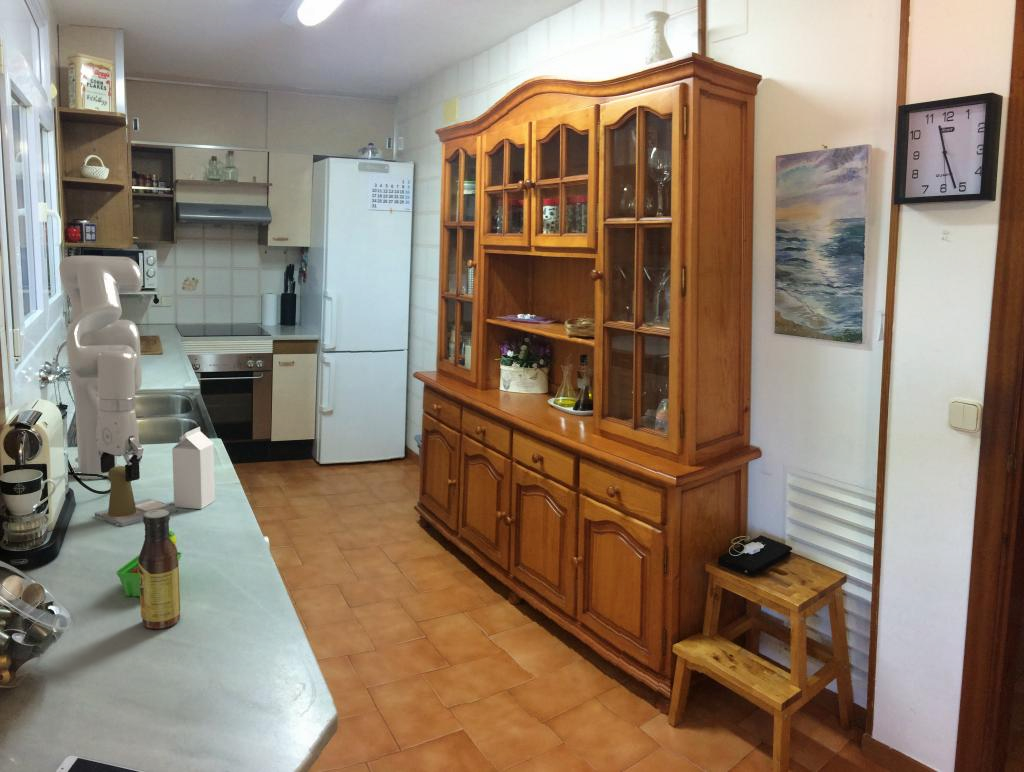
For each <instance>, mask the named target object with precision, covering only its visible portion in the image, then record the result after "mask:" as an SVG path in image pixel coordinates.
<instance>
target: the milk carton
mask: <svg viewBox="0 0 1024 772" xmlns="http://www.w3.org/2000/svg"><path fill="white" fill-rule="evenodd" d="M214 449H215V448H214V442H213V441H212V440H211V439H210V438H208V437H207V436H206V435H205V434H204V433H203V432H202V431H201V427H200V426H198V427H196V428H193V429H191V430H189V431H187V432H185V433H184V434H183V435H181V436H180V437H179V442H178V443H176V445H174V446H173V447H172V449H171V450H172V451H171V453H172V455H171V456H172V477H173V478H172V479H173V480H172V481H173V506H174V507H177V508H181V509H183V508H184V509H197V510H198V509H199V510H203V509H204V508H206V507H207V506H209V505H210V504H212V503H214V502H215V500H216V495H215V494H216V491H215V490H216V488H215V487H216V486H215V456H214V454H215V453H214V452H215V450H214Z"/></svg>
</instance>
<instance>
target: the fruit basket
mask: <svg viewBox="0 0 1024 772" xmlns="http://www.w3.org/2000/svg"><path fill="white" fill-rule="evenodd" d="M169 533H170V536H169V538H170V539H171V540H172V542H173V543H174V544H175V546H176V547H177V537H176V534H175V532H174V531H173V530H172V529H171V530H170V529H169ZM177 552H178V563H179V562H180V559H181V557H182V552H179V551H177ZM139 555H140V553H139V554H138V555H137V556H134V558H132V559H131V560H130V561H128V562H127V563H126V564H124V565H123V566H121V568H119V569H118V570H116V575H117V576H118V578H119V581H120V583H121V585H122V588H123V591H124V593H125V596H126V595H127V596H126V597H136V596H140V586H139V568H138V558H139ZM179 564H180V563H179ZM130 595H131V596H130Z"/></svg>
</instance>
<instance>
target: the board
mask: <svg viewBox="0 0 1024 772" xmlns="http://www.w3.org/2000/svg"><path fill="white" fill-rule="evenodd" d="M135 506H136V513H134V514H132V515H129V516H123V517H113V516H109V515H108V509H109V508H107V509H103V510H100V511H95V512H94V517H95V518H97V517H98V518H97V519H100V518H101V519H100V520H102V519H103V521H105V520H106V522H108V521H109V522H108V523H111V524H113V523H115V524H114V525H116V524H118V525H117V526H119V525H120V526H119V527H122V526H123V527H126V526H125V525H127V526H129V524H130V525H134V524H137V523H141V522H143V515H144V513H146V512H149V511H152V510H166V511H169V514H172V512H173V513H176V512H177V511H178V507H174V505H170V504H167V503H165V502H161V501H158V500H157V499H156V500H155V499H153V498H146V499H142V500H139V501H135ZM175 511H176V512H175ZM136 522H137V523H136ZM133 523H134V524H133Z"/></svg>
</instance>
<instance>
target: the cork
mask: <svg viewBox="0 0 1024 772" xmlns="http://www.w3.org/2000/svg"><path fill="white" fill-rule="evenodd" d="M107 479H108V480H109V481H110V490H109V491H110V492H109V501H108V508H107V509H108V515H109V516H113V517H123V516H129V515H132V514H134V513H136V506H135V502H136V501H135V497H134V491H133V485H132V483H131V482H132V481H130V482H127V481H126V480H125V465H121V466H118V467H113V468H111V469H110V470H109V472H108V478H107Z"/></svg>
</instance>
